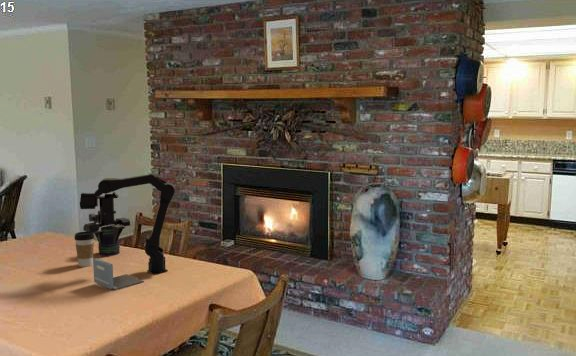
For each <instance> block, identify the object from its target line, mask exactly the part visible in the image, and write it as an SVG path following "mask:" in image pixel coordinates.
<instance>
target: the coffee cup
mask: <svg viewBox="0 0 576 356" xmlns="http://www.w3.org/2000/svg"><path fill="white" fill-rule="evenodd" d="M95 237H96V236H95V234H94V233H93V232H92V233H90V232H86V231H79V232H77V233H76V232H75V234H74V240H75V249H76V256H77V262H78V264H77V265H78V267H81V268H83V267H84V268H85V267H86V268H87V267H91V266H92V265H93V259H94V250H95V249H94V246H95V242H94V239H95Z"/></svg>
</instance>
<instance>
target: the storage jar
mask: <svg viewBox="0 0 576 356" xmlns="http://www.w3.org/2000/svg"><path fill="white" fill-rule="evenodd" d="M97 224H100V223H97ZM109 225H110V224H109ZM104 226H105V225H104ZM101 231H103V244H102V246H100V245H99V242H97V243H98V245H97V246H98V247H97V248H98V255H99V256H101V257H112V256H117V255H119V254H120V252H121V251H120V250H121V249H120V246H121V245H120V237H119V238H118V240H117V242H116V243H114V236H113V228H112V226H110V227H105V228H101Z"/></svg>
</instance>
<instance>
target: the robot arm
mask: <svg viewBox="0 0 576 356" xmlns="http://www.w3.org/2000/svg"><path fill="white" fill-rule="evenodd" d="M147 184H148V185H149V184H150V185H151V186H153V187H154V188H155V189H156V190H158V191H159V192H160V198H159V205H158V209H157V213H156V217H155V220H154V223H153V224H154V225H153V227H152V231H151V233H150V236H149V235H146V238H145V242H144V244H143V245H144V246H143V249H144V253H145V254H146V255H147V256H148V257H149V258H148V264H147V265H148V269H147V271H146V272H148V273H150V274H154V275H159V274H162V273H167V272H168V270H169V269H167V268H166V256H165V250H164V249H163V248H162V247H161V246H160V239H161V234H162V230H163V226H164V222H165V219H166V215H167V213H168V207H169V205H170V203H171V201H172V199H173V197H174V196H175V191H176V190H175V185H174V183H172V182H168V181H167V182H166V181H165V180H164V179H162V178H160V177H158V175H156V174H154V173H148V174H141V175H137V176H131V177H123V178H117V177H116V178H115V177H113V178H112V177H105V178H103V179H102V180H100V181H99V183H98V185H97V189H96V190H95V192H81V193H80V198H79V199H80V200H79V208H80V210H94V209H96V207H99V210H98V211H97V214H95V213H94V212H93V213H89V214H88V220H89V222H87V223H84V225H83V229H82V230H83V232H90V233H92V232H93V233H94V237H96V240H97V243H99V245H100V246H102V244H103V231H101V228H105V227H110V226H112V228H113V236H114V243H116V242H117V240H118V238H119V239H120V235H121V234H122V232H123V229H126V227H129V226H131V220H130V218H126V217H119V218H115V214H117V211H116V210H115V202H114V201H115V199H118V198H119V194H117V193H116V192H115V191H118V190H120V189H126V188H130V187H135V186H143V185H147ZM103 194H104V195H103ZM98 223H100V224H98ZM109 224H110V225H109ZM104 225H105V226H104ZM99 245H98V246H99Z"/></svg>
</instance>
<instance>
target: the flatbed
mask: <svg viewBox="0 0 576 356" xmlns="http://www.w3.org/2000/svg"><path fill="white" fill-rule="evenodd" d="M143 283H145V281H144V280H143V279H139V278H137V277H135V276H133V275H130V274H127V273H126V274H121V275H119V276H118V275H117V276H113V286H114V288H111V289H110V290H113V291H117V290H121V289H122V290H123V289H125V288H128V287H132V286H135V285H139V284H143Z"/></svg>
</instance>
